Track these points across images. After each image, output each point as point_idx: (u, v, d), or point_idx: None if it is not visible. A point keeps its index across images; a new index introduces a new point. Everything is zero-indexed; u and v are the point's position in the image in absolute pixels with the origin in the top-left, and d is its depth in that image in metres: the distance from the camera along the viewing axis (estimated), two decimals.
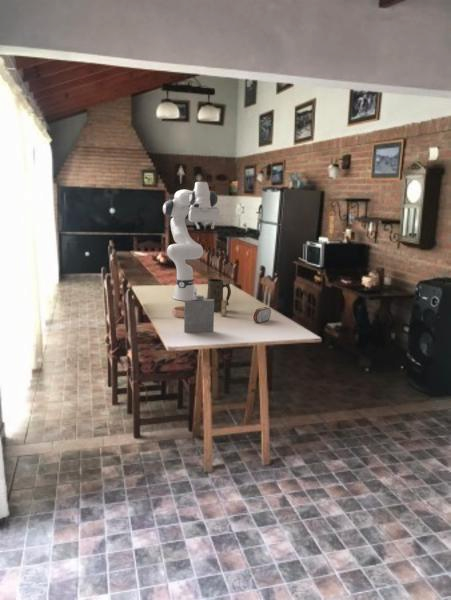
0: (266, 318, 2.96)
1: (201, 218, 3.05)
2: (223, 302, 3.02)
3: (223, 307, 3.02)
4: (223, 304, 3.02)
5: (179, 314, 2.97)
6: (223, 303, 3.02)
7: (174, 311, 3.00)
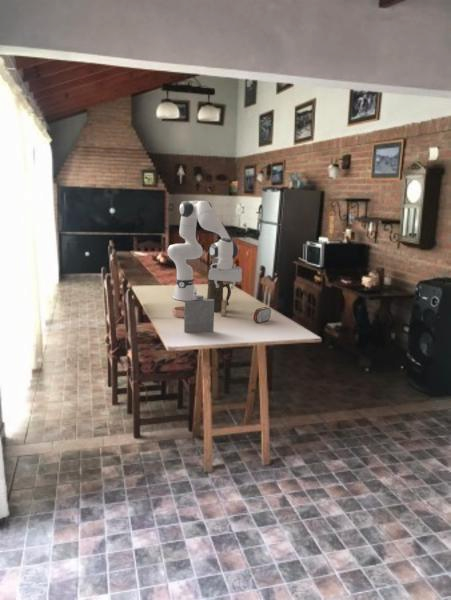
0: (266, 318, 2.96)
1: (219, 278, 2.99)
2: (223, 302, 3.02)
3: (223, 307, 3.02)
4: (223, 304, 3.02)
5: (179, 314, 2.97)
6: (223, 303, 3.02)
7: (174, 311, 3.00)
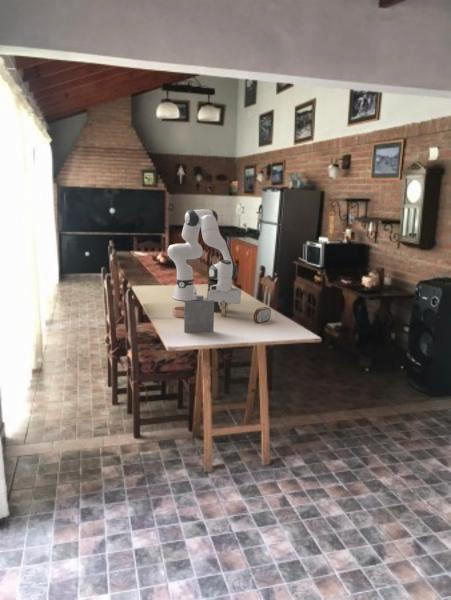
0: (266, 318, 2.96)
1: (218, 300, 3.02)
2: (223, 302, 3.02)
3: (223, 307, 3.02)
4: (223, 304, 3.02)
5: (179, 314, 2.97)
6: (223, 303, 3.02)
7: (174, 311, 3.00)
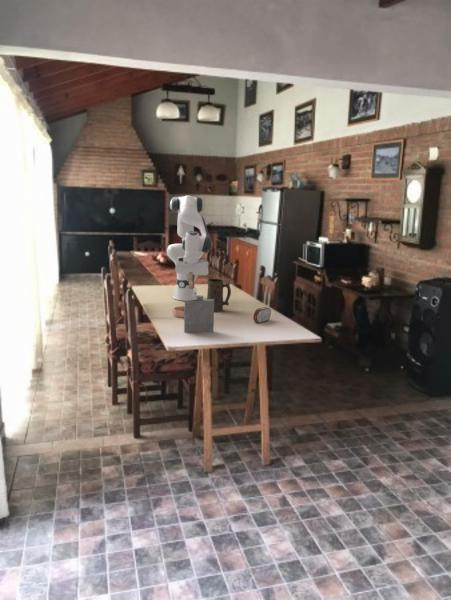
0: (266, 318, 2.96)
1: (186, 272, 2.98)
2: (190, 274, 2.97)
3: (191, 279, 2.98)
4: (190, 276, 2.97)
5: (179, 314, 2.97)
6: (190, 275, 2.97)
7: (174, 311, 3.00)
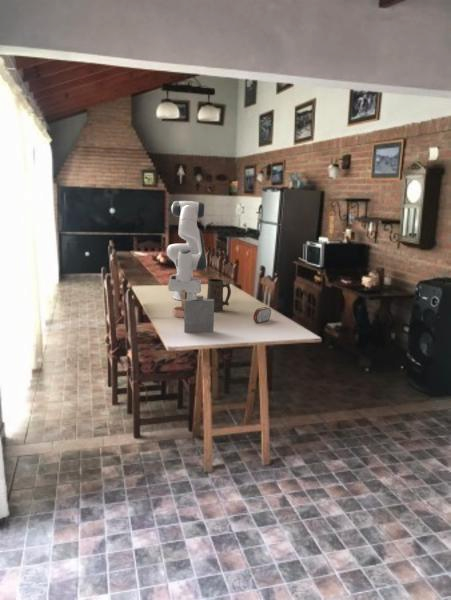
0: (266, 318, 2.96)
1: (179, 290, 3.00)
2: (183, 292, 2.99)
3: (183, 297, 2.99)
4: (183, 294, 2.99)
5: (179, 314, 2.97)
6: (183, 293, 2.99)
7: (174, 311, 3.00)
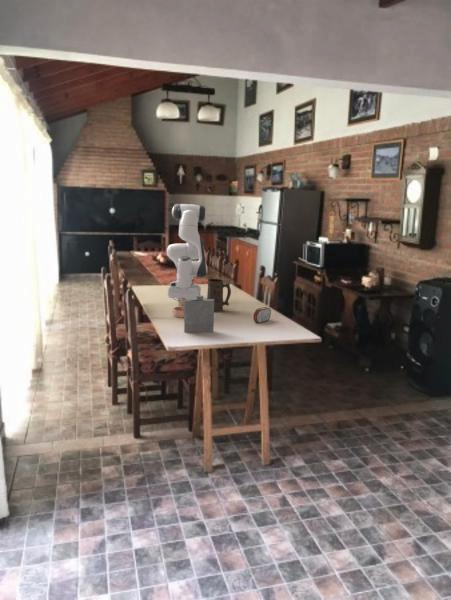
0: (266, 318, 2.96)
1: (178, 296, 3.01)
2: (183, 300, 3.00)
3: (183, 305, 3.00)
4: (183, 302, 3.00)
5: (179, 314, 2.97)
6: (183, 301, 3.00)
7: (174, 311, 3.00)
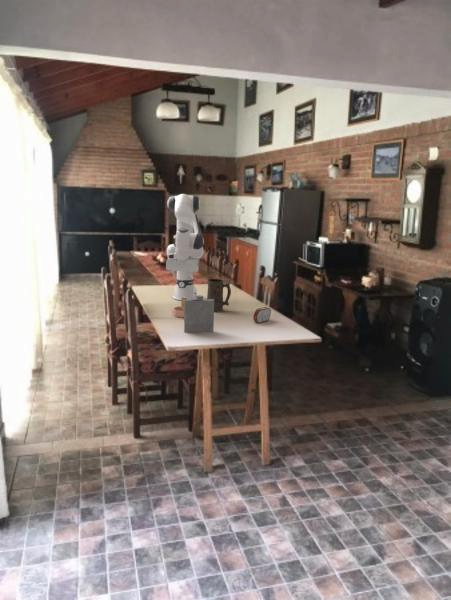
0: (266, 318, 2.96)
1: (176, 268, 3.01)
2: (183, 299, 3.00)
3: (183, 304, 3.01)
4: (183, 301, 3.00)
5: (179, 314, 2.97)
6: (183, 300, 3.00)
7: (174, 311, 3.00)
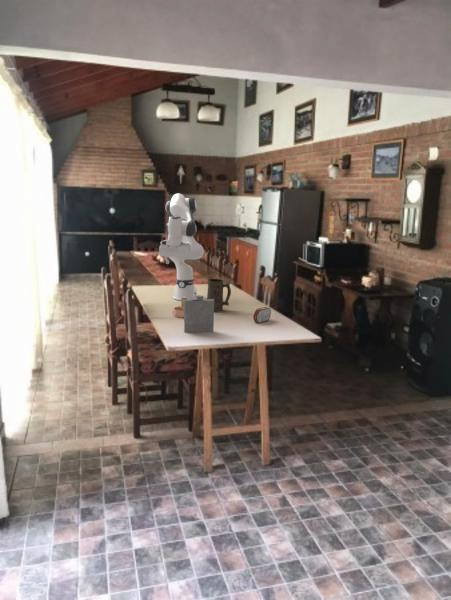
0: (266, 318, 2.96)
1: (169, 255, 3.09)
2: (183, 299, 3.00)
3: (183, 304, 3.01)
4: (183, 301, 3.00)
5: (179, 314, 2.97)
6: (183, 300, 3.00)
7: (174, 311, 3.00)
